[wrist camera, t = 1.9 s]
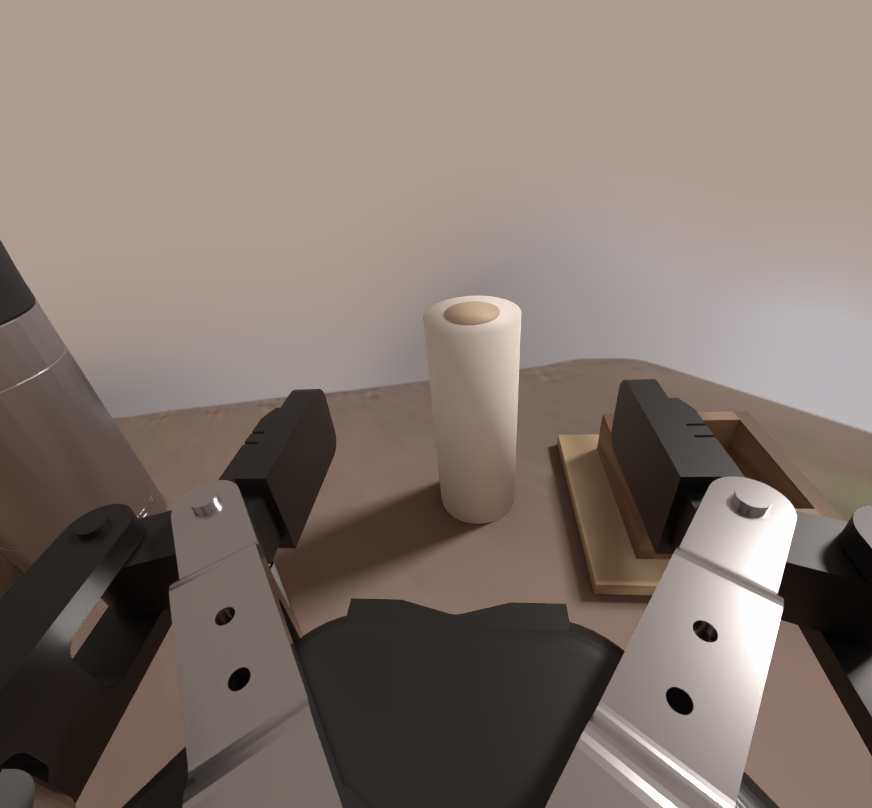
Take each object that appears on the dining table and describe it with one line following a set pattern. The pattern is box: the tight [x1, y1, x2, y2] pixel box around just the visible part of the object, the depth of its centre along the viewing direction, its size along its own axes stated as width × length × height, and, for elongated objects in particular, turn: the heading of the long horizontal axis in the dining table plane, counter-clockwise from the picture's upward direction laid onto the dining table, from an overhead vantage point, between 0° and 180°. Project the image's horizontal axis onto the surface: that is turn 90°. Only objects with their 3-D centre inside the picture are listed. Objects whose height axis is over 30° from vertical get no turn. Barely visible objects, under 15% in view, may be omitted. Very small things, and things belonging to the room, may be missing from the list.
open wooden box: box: [557, 411, 846, 596], centre depth 29 cm, size 16×14×4 cm
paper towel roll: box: [423, 296, 521, 524], centre depth 29 cm, size 6×6×15 cm
